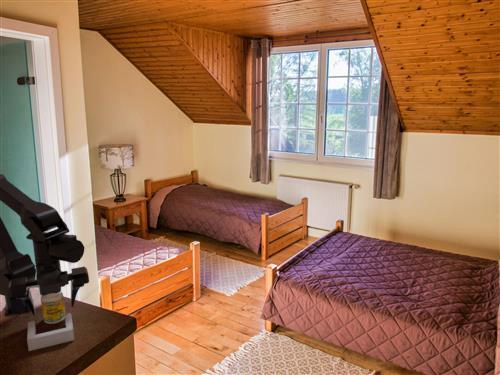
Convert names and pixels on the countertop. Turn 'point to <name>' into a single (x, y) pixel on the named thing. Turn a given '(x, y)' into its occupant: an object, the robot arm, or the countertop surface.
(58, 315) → the supplement bottle
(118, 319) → the countertop surface
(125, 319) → the countertop surface
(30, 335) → the notched board
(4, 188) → the robot arm
